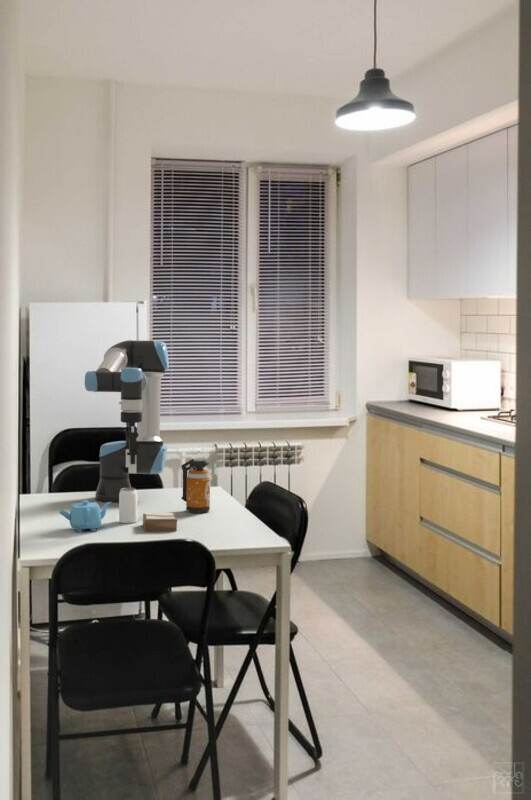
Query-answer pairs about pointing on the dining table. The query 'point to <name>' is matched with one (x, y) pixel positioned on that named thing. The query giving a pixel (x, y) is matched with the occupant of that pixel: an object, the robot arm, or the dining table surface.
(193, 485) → the canister
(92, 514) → the teapot
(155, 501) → the dining table surface
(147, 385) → the robot arm
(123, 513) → the can
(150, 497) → the dining table surface
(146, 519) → the podium
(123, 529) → the dining table surface
